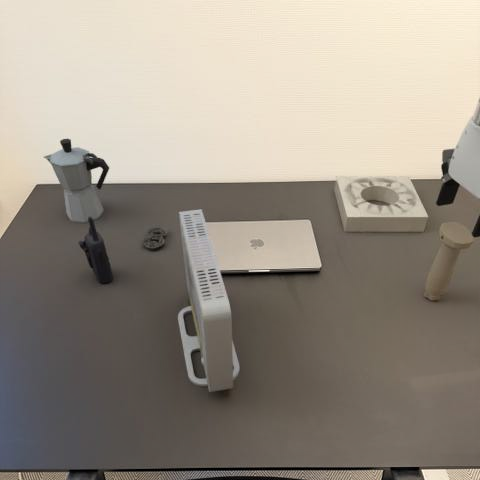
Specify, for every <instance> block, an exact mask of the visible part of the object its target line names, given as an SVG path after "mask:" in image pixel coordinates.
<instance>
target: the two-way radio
mask: <svg viewBox="0 0 480 480" xmlns="http://www.w3.org/2000/svg"><path fill="white" fill-rule="evenodd" d="M88 221H89V222H88V224H89V227H88V232H87V233H86V234H85V235H84V240H79V241H78V245H79V248H81V249H82V250H83V252H84V254H85V257H86V261H87V263H88V266H89V268H90V269H92V273H93V275H94V278H95V279H96V281H97V282H98V283H100V284H107V283H111V282H112V281H113V280H114V275H113V270H112V266H111V262H110V258H109V255H108V253H107V249H106V245H105V241H104V239H103V237H102V235H101V234H100V233H99V232H98V231H97V228H96V225H95V222H94V220H93V219H92V217H91V216H89V217H88Z"/></svg>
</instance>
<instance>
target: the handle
mask: <svg viewBox="0 0 480 480" xmlns="http://www.w3.org/2000/svg"><path fill="white" fill-rule="evenodd" d="M438 236H439V239H440V242H441V245H440V248H439V250H438V252H437V253H436V257H435V258H434V260H433V263H432V265H431V266H430V267H431V268H430V269H429V273H428V275H427V279H426V282H425V288H424V289H425V290H424V292H423V296H424V298H427V299H428V300H429V301H431V302H433V301H440V299H441V298H442V295H443V294H444V293H445V291H446V289H447V288H448V286H449V284H450V281H451V280H452V276H453V274H454V271H455V267H456V265H457V262H458V258H459V256H460V253H461V251H462V250H466V249H469V248H471V246H472V245H473V243H474V237H473V236H472V231H471V230H470V229H469V228H468V227H466V226H465V225H463V224H462V223H460V222H457V221H446V222H443V223H441V224H440V225H439V230H438Z"/></svg>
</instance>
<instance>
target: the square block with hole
mask: <svg viewBox="0 0 480 480" xmlns="http://www.w3.org/2000/svg"><path fill="white" fill-rule="evenodd" d="M333 192H334V196H335V199H336V202H337V207H338V212H339V215H340V219H341V224H342V227H343V231H344V233H358V232H359V233H376V232H377V233H424V232H425V228H426V226H427V224H428V219H429V215H428V213H427V211H426V209H425V207H424V205H423V202H422V201H421V199H420V196H419V194H418V192H417V190H416V188H415V186H414V184H413V182H412V180H411V178H410V176H408V175H405V176H404V175H403V176H402V175H396V176H395V175H390V176H387V175H386V176H385V175H384V176H381V175H379V176H378V175H377V176H375V175H374V176H373V175H372V176H368V175H367V176H365V175H363V176H362V175H361V176H360V175H359V176H357V175H355V176H354V175H353V176H351V175H350V176H348V175H347V176H344V175H343V176H341V175H340V176H339V175H338V176H335V181H334V187H333ZM369 201H378V202H383V203H385V204H387V205H378V204H374V203H370V202H369Z"/></svg>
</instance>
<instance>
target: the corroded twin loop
mask: <svg viewBox="0 0 480 480" xmlns="http://www.w3.org/2000/svg"><path fill="white" fill-rule="evenodd" d="M145 234H146V235H147V236H146V237H144V238H143V239H142V241H141V243H142V244H143V246H144V247H146V248H147V249H149V250H151V251H152V250H153V251H155V250H157V249H159V248H162V247H163V246H164V245H165V244H164V243H165V242H166V240H165V238H166V237H167V234H168V230H167V229H166V228H164V227H162V226H154V227H151V228H149V229H147V230H146V233H145Z"/></svg>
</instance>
